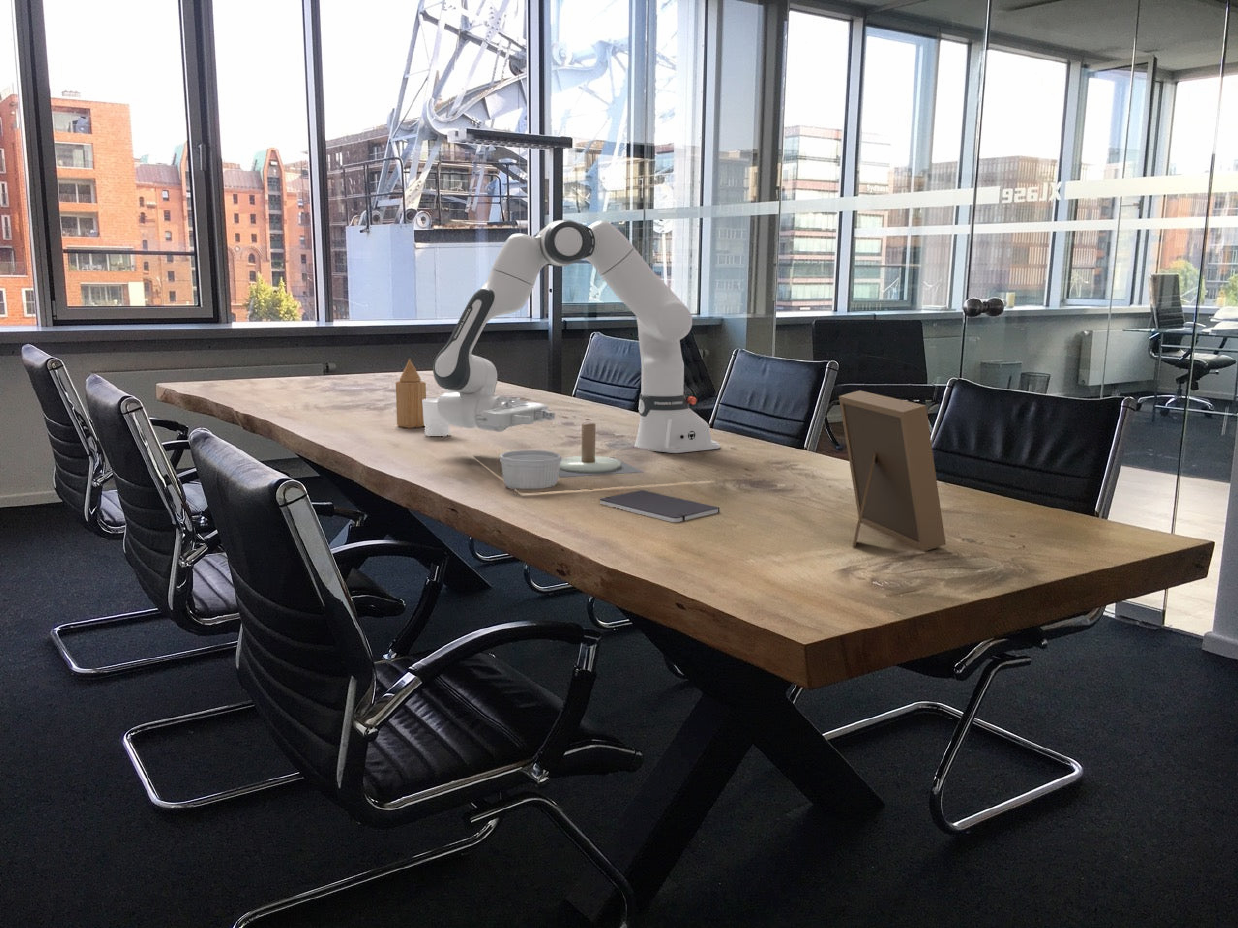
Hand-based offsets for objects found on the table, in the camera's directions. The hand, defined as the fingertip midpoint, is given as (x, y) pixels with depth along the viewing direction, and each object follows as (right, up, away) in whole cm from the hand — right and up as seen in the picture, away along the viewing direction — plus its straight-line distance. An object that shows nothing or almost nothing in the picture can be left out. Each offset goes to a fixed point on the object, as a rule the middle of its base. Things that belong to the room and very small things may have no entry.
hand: (542, 418), depth 249 cm
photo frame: (+64, -24, -63) cm, 93 cm away
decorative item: (-43, 0, +58) cm, 72 cm away
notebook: (+26, -20, -42) cm, 53 cm away
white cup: (-33, -3, +43) cm, 54 cm away
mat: (+11, -12, -4) cm, 17 cm away
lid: (+11, -11, -4) cm, 16 cm away
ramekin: (-1, -16, -23) cm, 28 cm away
